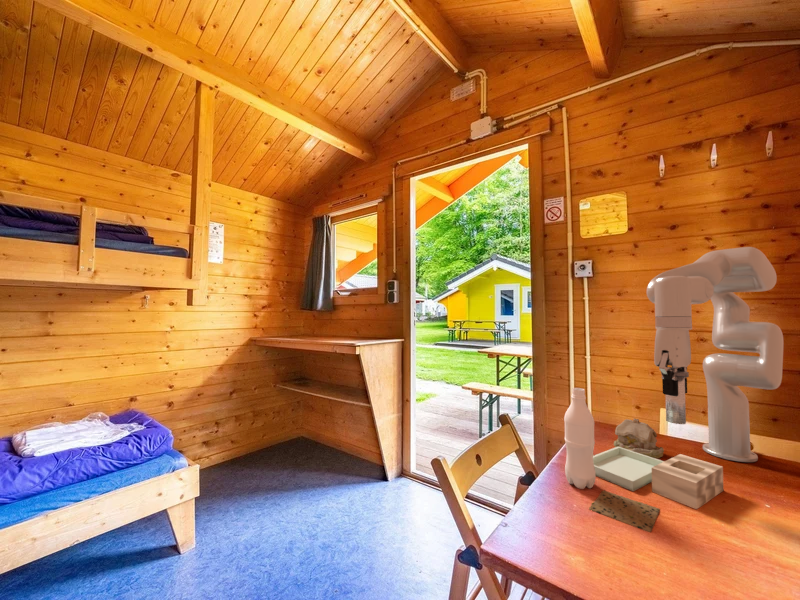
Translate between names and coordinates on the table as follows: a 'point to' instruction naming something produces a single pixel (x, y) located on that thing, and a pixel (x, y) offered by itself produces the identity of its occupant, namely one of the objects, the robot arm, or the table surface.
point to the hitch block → (687, 480)
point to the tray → (625, 467)
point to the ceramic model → (638, 438)
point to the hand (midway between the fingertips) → (675, 393)
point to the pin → (677, 401)
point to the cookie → (626, 510)
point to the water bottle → (579, 442)
